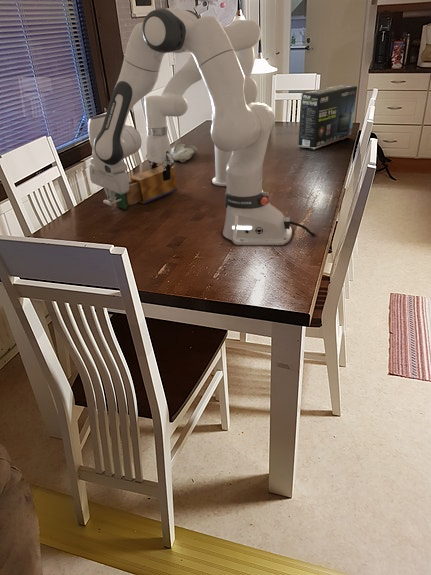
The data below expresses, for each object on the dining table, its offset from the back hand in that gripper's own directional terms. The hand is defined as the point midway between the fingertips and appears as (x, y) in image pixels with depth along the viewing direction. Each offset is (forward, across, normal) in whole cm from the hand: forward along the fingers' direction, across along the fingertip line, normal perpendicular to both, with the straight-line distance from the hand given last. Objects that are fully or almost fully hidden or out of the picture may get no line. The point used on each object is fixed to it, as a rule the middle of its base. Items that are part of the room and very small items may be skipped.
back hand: (161, 177), depth 182 cm
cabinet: (+6, 0, -3) cm, 7 cm away
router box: (+5, +7, +107) cm, 107 cm away
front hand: (+3, -1, -24) cm, 24 cm away
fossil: (+6, -34, +39) cm, 53 cm away
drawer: (+6, 0, -15) cm, 17 cm away
